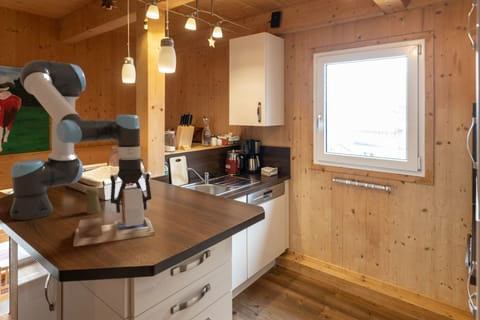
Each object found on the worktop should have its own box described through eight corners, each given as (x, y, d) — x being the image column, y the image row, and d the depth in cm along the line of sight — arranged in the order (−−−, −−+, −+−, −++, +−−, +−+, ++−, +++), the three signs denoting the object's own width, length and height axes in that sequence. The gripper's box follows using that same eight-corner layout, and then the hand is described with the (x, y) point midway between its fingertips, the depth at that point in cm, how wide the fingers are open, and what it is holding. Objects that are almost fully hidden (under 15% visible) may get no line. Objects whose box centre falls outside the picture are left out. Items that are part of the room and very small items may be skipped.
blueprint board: (73, 246, 102) (72, 231, 101) (76, 231, 115) (75, 218, 114) (154, 234, 112) (154, 221, 111) (149, 222, 125) (149, 210, 124)
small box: (121, 220, 117) (119, 186, 115) (138, 217, 120) (137, 184, 118) (125, 227, 110) (123, 191, 108) (143, 224, 113) (142, 189, 111)
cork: (97, 209, 142) (95, 185, 140) (103, 211, 138) (102, 187, 136) (83, 212, 137) (82, 187, 135) (90, 215, 133) (88, 190, 132)
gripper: (99, 160, 104) (103, 226, 108) (159, 158, 112) (160, 219, 116) (99, 157, 111) (103, 219, 115) (155, 155, 119) (157, 213, 122)
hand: (132, 219), depth 115 cm, fingers closed on small box, 7 cm apart
